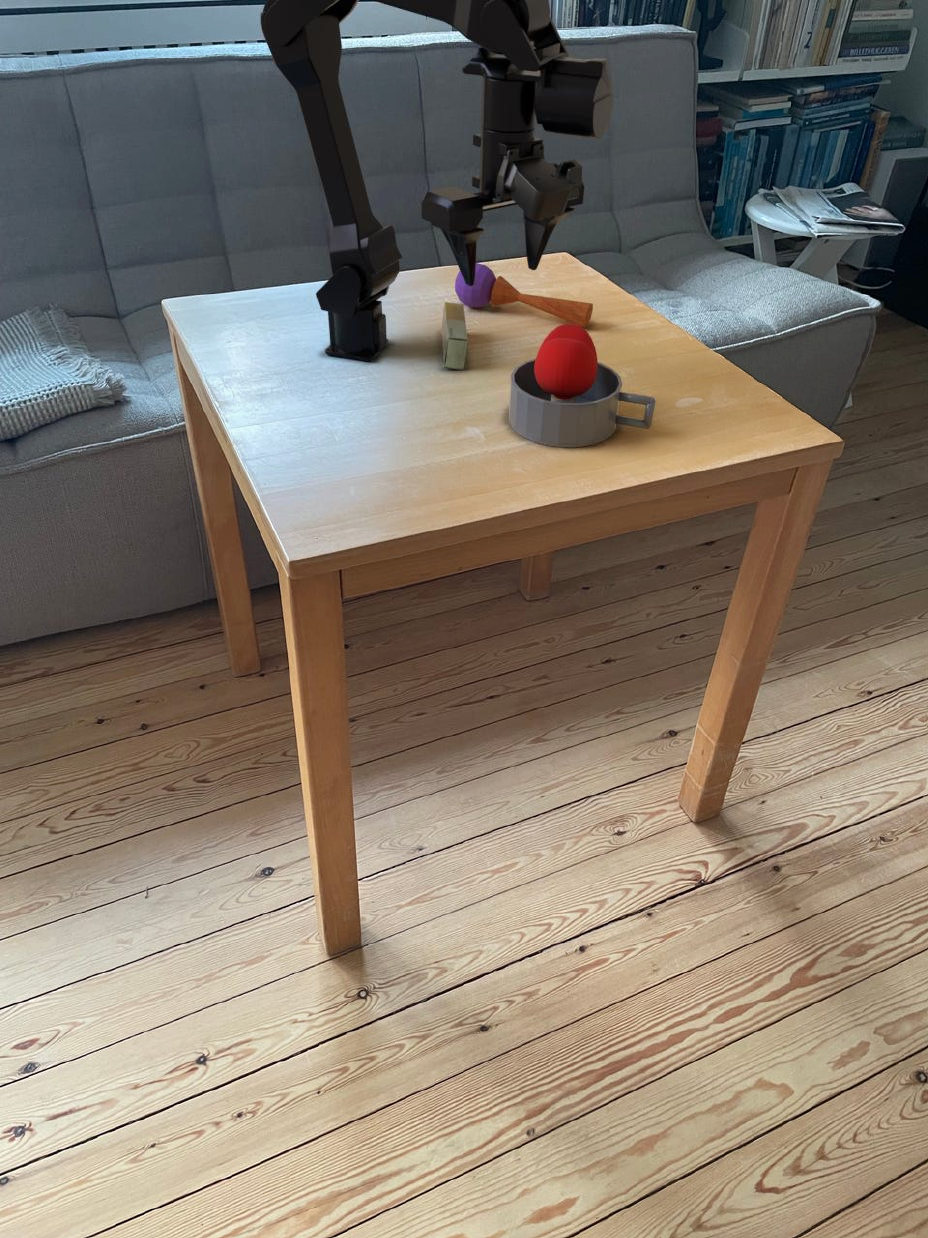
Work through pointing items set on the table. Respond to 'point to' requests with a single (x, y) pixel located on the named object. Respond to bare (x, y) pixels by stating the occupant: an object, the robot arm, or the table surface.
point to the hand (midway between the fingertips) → (501, 276)
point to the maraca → (517, 297)
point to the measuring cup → (572, 409)
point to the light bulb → (566, 363)
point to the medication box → (454, 336)
